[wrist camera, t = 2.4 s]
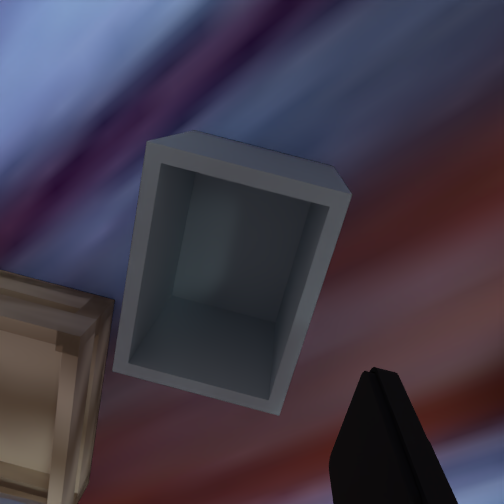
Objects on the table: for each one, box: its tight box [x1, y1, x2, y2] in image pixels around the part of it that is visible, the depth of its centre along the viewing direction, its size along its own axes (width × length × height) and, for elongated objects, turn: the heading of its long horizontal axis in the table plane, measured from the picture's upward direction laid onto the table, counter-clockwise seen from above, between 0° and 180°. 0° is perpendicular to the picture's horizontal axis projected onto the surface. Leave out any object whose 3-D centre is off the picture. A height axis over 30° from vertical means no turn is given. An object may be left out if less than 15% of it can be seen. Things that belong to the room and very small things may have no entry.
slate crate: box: [112, 130, 352, 416], centre depth 16 cm, size 8×6×6 cm
